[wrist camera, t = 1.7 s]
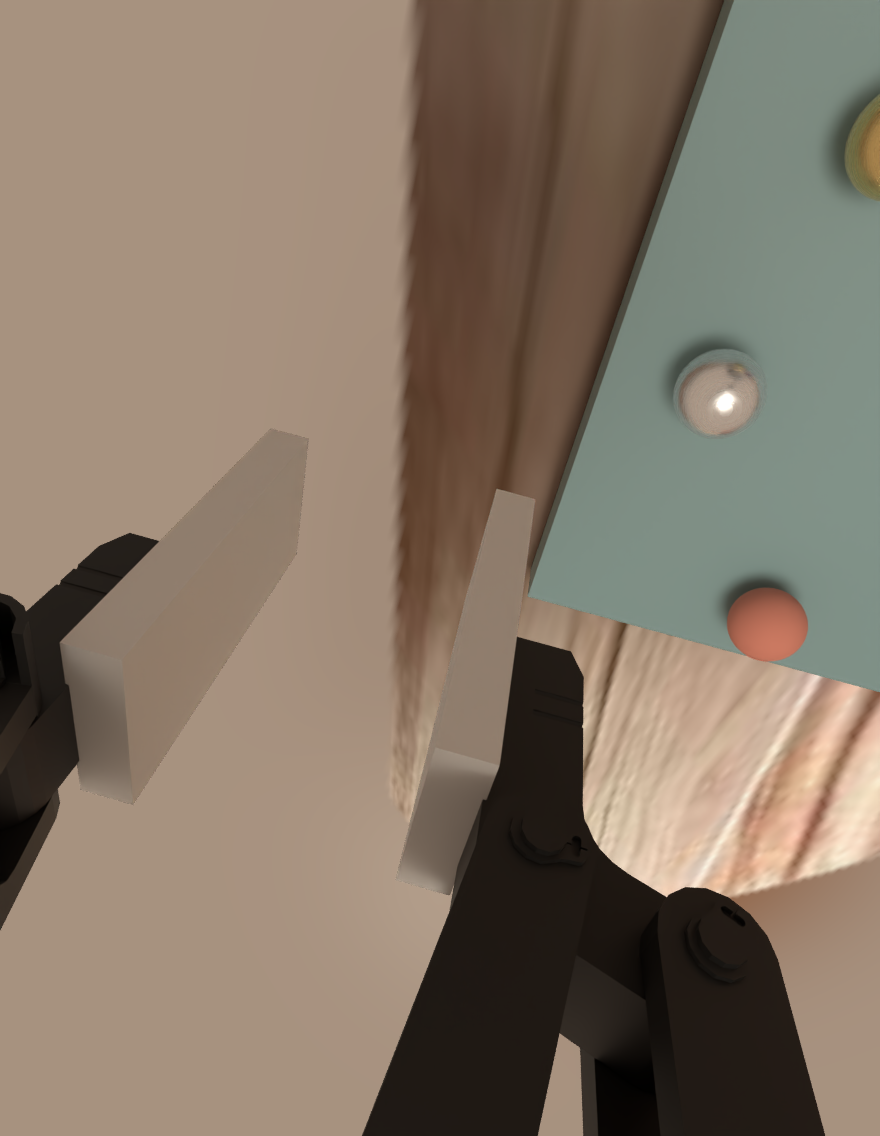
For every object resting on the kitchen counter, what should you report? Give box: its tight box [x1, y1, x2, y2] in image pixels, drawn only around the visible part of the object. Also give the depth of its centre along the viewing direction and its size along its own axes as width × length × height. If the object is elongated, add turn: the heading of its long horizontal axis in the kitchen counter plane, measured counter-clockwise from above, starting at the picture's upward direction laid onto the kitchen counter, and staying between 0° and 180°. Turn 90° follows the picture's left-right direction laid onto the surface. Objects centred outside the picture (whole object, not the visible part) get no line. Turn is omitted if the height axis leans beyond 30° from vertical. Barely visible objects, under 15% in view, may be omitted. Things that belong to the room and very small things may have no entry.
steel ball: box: [673, 349, 767, 439], centre depth 26 cm, size 3×3×3 cm
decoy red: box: [727, 588, 808, 661], centre depth 31 cm, size 3×3×3 cm
